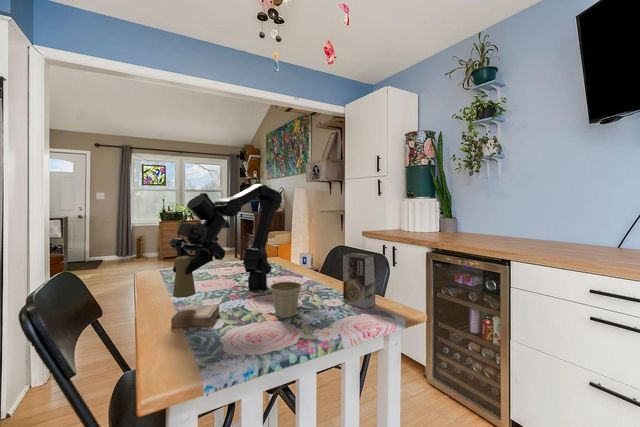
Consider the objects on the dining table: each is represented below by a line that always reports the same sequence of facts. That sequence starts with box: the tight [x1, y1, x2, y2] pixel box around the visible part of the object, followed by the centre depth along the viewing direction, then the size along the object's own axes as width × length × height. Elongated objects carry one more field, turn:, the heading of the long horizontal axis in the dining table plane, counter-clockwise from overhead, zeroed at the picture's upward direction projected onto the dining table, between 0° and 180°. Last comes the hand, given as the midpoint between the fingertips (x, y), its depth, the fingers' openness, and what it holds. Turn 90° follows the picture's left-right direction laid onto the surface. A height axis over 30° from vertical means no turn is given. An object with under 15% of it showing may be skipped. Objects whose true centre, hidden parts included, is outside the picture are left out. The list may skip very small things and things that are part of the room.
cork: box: [172, 256, 196, 299], centre depth 87 cm, size 6×6×11 cm
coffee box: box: [342, 252, 376, 309], centre depth 100 cm, size 9×6×16 cm
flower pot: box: [269, 281, 302, 319], centre depth 90 cm, size 9×9×9 cm
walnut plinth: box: [170, 304, 220, 329], centre depth 85 cm, size 10×10×3 cm
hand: (179, 272), depth 86 cm, fingers closed on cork, 5 cm apart
